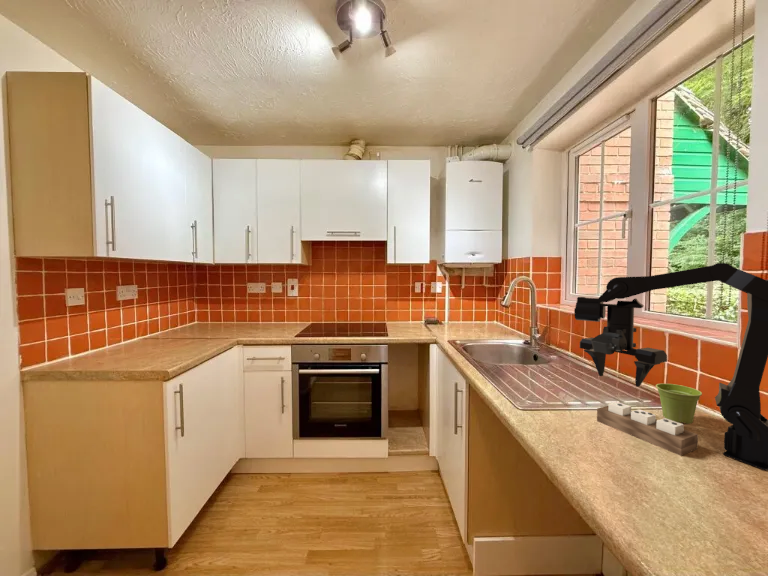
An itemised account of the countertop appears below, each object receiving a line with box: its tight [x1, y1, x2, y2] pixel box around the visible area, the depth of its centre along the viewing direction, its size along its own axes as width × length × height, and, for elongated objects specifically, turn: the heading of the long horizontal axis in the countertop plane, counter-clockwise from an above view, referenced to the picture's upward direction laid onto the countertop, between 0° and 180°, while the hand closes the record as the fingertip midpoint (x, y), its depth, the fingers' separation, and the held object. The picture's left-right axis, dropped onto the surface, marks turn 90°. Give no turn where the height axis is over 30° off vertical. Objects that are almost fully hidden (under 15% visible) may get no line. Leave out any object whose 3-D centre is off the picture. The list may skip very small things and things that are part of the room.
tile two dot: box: [656, 417, 685, 436], centre depth 74 cm, size 4×4×3 cm
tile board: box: [596, 405, 699, 457], centre depth 79 cm, size 18×7×4 cm, turn 23°
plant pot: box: [655, 383, 703, 425], centre depth 87 cm, size 9×9×9 cm
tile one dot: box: [607, 401, 632, 416], centre depth 84 cm, size 4×4×3 cm
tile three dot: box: [631, 408, 657, 425], centre depth 79 cm, size 4×4×3 cm
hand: (618, 380), depth 84 cm, fingers open, 9 cm apart
